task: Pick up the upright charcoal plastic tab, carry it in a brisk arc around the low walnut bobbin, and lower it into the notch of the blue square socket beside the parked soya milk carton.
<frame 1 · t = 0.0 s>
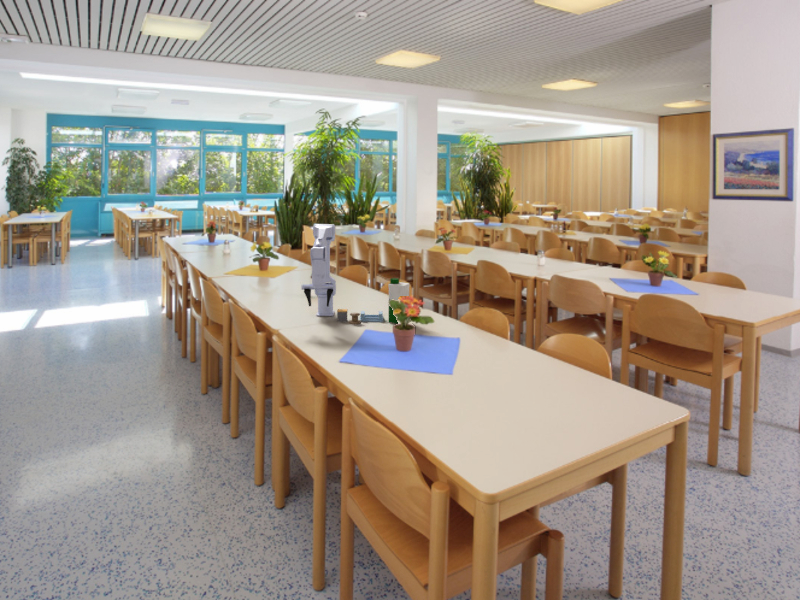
hand: (318, 306, 244), 10 cm above the table, fingers open, 7 cm apart
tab: (342, 320, 261), on the table
bobbin: (354, 322, 258), on the table
soya milk: (398, 322, 262), on the table
blue square socket: (371, 319, 265), on the table
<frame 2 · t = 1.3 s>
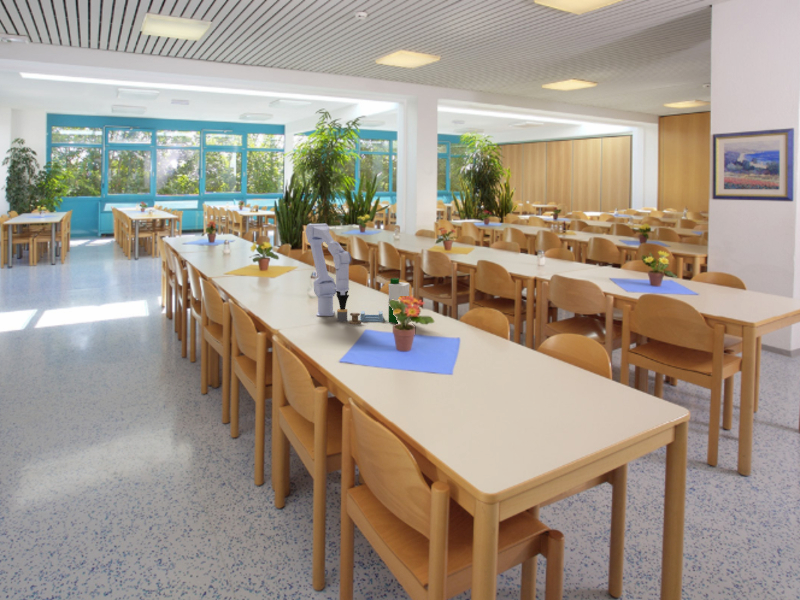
hand: (342, 307, 260), 6 cm above the table, fingers open, 7 cm apart
nothing on the table moved.
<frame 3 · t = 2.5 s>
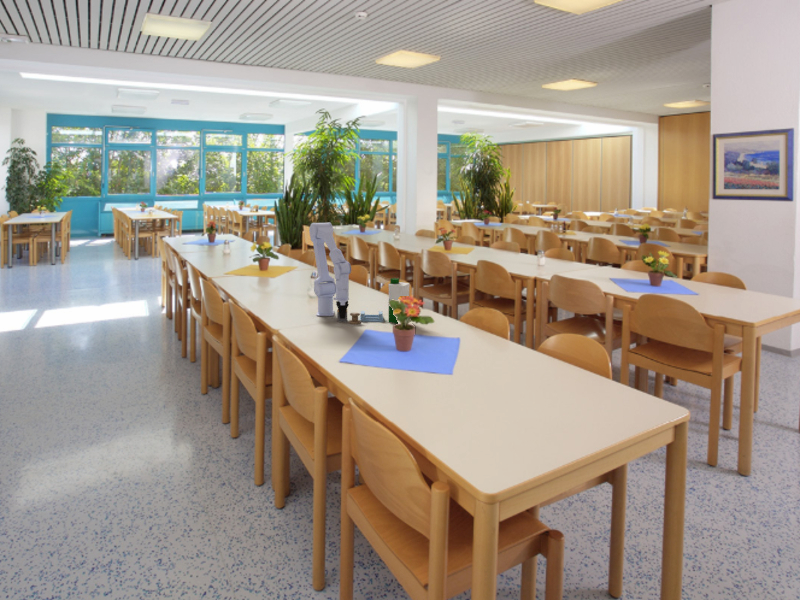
hand: (342, 317, 261), 2 cm above the table, fingers closed on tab, 3 cm apart
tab: (342, 320, 261), on the table, touching gripper
everything else where it was.
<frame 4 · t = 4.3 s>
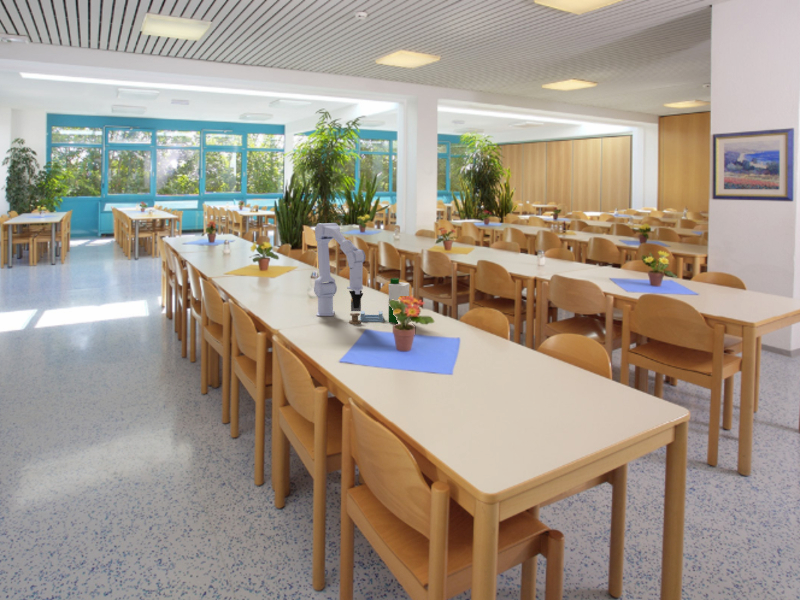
hand: (355, 307, 253), 8 cm above the table, fingers closed on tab, 3 cm apart
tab: (355, 310, 253), point 6 cm above the table, touching gripper
everything else where it was.
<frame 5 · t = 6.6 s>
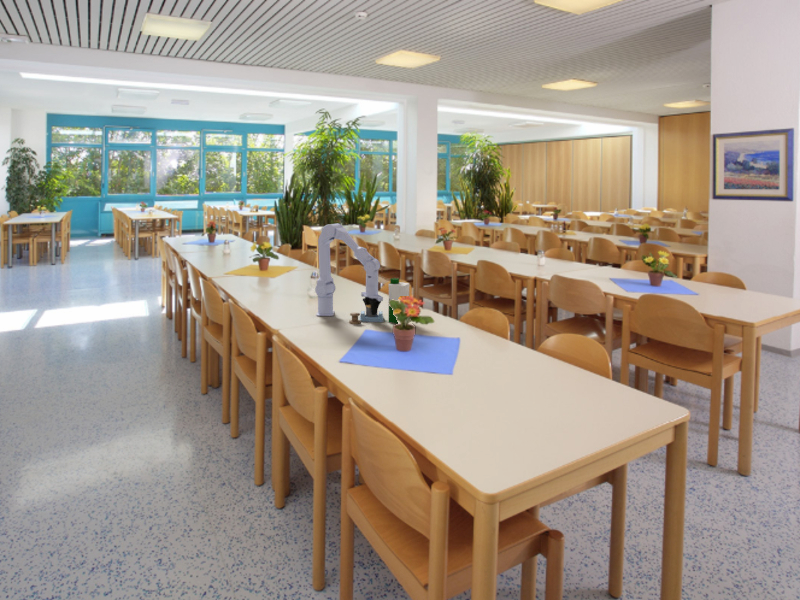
hand: (371, 313, 264), 3 cm above the table, fingers closed on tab, 3 cm apart
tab: (371, 316, 264), point 2 cm above the table, touching blue square socket, gripper
everything else where it was.
when the fingers open (3 cm above the table, at t = 7.4 s): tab stays where it is, resting on blue square socket.
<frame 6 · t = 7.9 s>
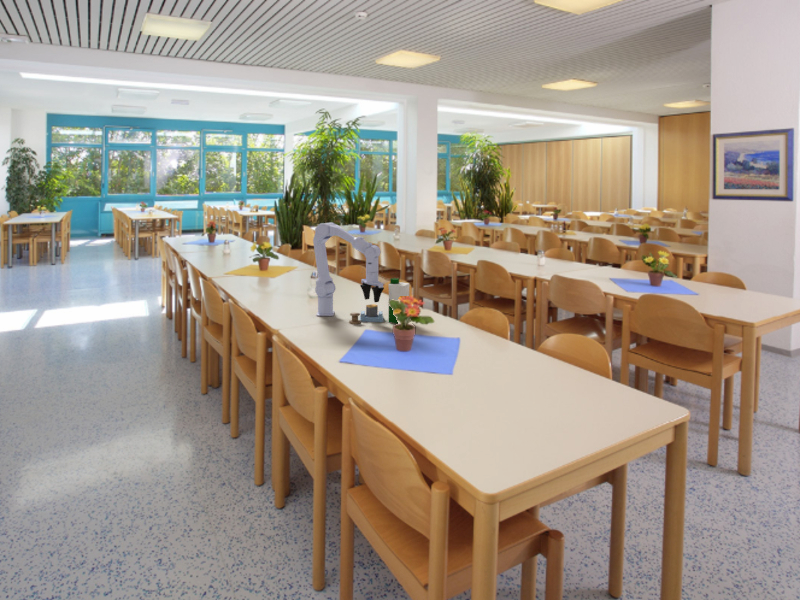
hand: (371, 300, 263), 9 cm above the table, fingers open, 7 cm apart
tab: (371, 316, 264), point 2 cm above the table, touching blue square socket
everything else where it was.
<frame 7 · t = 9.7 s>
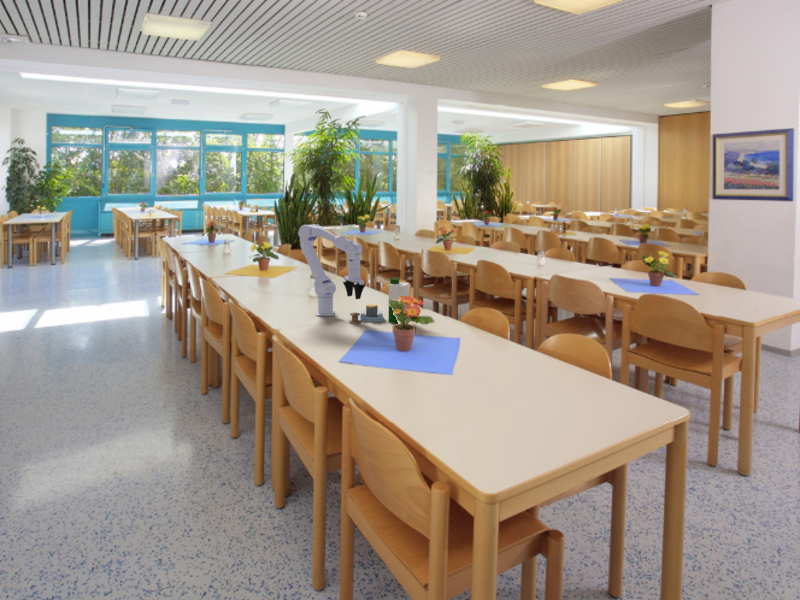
hand: (353, 297, 265), 10 cm above the table, fingers open, 7 cm apart
nothing on the table moved.
at the end: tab 0.1 cm off-centre on the blue square socket, point 1.7 cm above the blue square socket's base; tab tilted 0°; the gripper is holding nothing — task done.
